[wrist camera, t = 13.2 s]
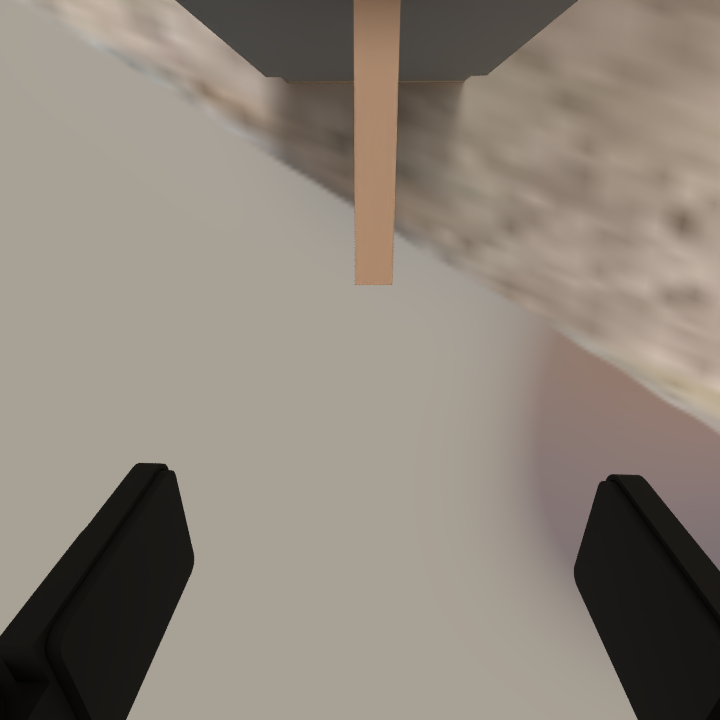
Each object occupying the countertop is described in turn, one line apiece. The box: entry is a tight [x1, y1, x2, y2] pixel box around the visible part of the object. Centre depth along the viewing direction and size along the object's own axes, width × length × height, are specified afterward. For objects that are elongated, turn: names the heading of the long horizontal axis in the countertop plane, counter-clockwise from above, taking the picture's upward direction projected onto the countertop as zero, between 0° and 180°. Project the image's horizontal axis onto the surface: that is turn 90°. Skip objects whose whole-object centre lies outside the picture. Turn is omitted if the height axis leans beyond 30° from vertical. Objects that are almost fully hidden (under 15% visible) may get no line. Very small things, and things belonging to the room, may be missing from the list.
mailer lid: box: [176, 0, 578, 285], centre depth 18 cm, size 21×13×10 cm
